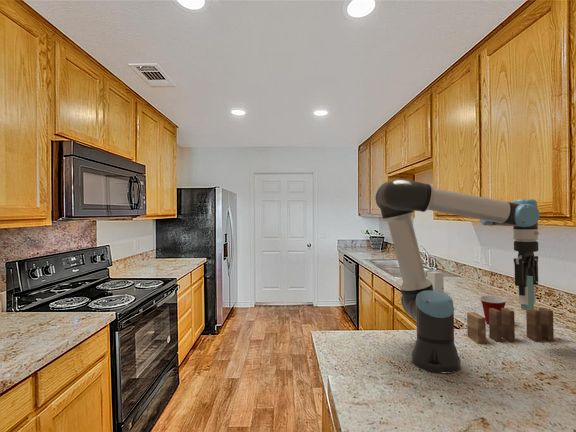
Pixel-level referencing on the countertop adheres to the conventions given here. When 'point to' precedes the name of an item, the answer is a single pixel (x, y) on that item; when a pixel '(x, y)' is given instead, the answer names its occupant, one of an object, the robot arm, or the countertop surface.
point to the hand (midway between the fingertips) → (527, 302)
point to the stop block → (476, 327)
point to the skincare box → (436, 280)
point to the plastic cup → (492, 304)
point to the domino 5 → (546, 324)
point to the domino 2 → (508, 324)
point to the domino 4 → (533, 325)
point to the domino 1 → (495, 325)
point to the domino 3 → (529, 295)
